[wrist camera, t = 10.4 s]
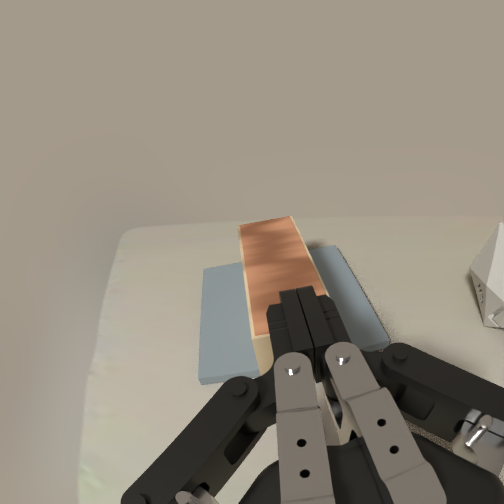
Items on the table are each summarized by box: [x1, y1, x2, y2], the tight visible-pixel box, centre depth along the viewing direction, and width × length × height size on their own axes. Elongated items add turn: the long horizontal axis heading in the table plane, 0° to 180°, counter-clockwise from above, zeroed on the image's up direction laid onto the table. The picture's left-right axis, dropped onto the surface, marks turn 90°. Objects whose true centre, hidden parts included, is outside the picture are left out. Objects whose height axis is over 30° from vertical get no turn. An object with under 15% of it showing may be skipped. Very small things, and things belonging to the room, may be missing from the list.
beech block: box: [238, 216, 330, 379], centre depth 24 cm, size 5×5×14 cm
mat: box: [198, 245, 390, 385], centre depth 27 cm, size 14×14×1 cm
